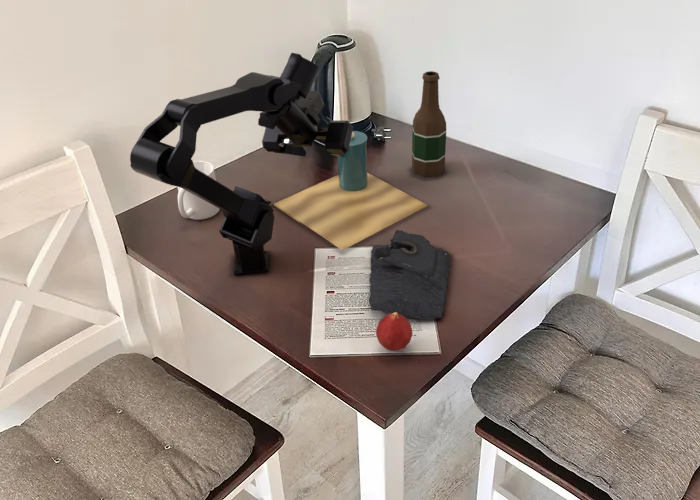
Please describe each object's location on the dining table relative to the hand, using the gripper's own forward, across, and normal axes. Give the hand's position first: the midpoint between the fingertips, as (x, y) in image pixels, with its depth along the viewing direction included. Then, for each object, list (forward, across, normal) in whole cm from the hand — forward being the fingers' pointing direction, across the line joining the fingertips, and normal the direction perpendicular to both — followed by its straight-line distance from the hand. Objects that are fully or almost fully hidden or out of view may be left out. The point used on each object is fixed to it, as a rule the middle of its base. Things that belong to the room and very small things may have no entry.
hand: (324, 154), depth 138 cm
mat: (+11, -3, +7) cm, 13 cm away
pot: (+15, 0, 0) cm, 15 cm away
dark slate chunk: (+1, -23, +25) cm, 34 cm away
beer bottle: (+25, -14, -8) cm, 30 cm away
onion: (-9, -27, +39) cm, 48 cm away
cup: (-1, +27, +16) cm, 31 cm away
